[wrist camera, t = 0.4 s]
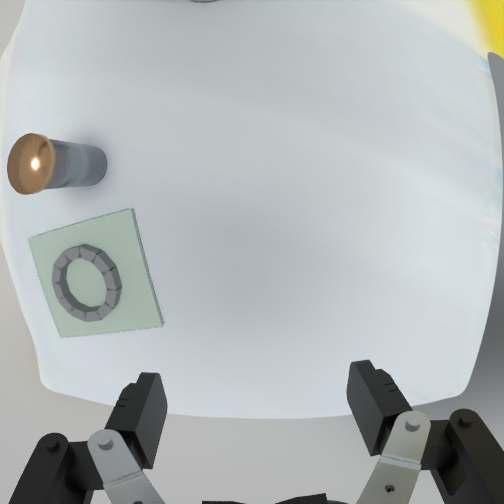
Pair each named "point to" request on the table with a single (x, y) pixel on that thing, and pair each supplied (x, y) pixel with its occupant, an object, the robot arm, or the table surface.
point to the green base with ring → (96, 277)
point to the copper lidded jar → (53, 164)
